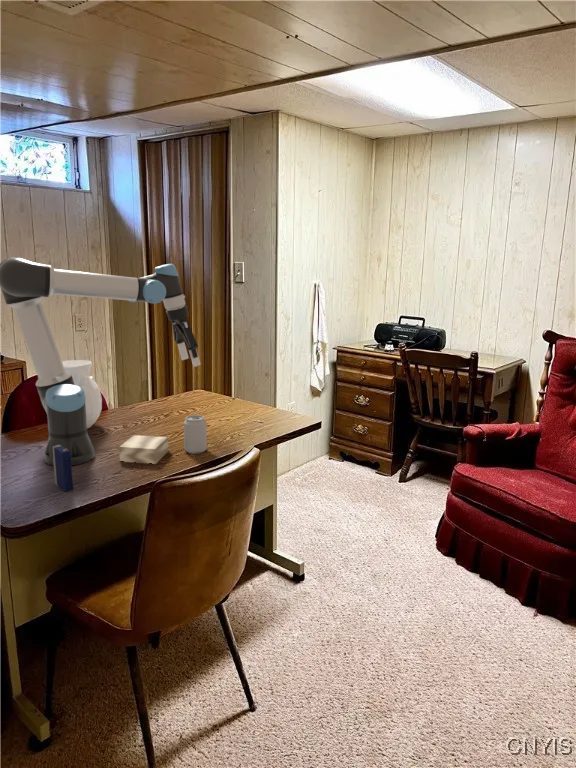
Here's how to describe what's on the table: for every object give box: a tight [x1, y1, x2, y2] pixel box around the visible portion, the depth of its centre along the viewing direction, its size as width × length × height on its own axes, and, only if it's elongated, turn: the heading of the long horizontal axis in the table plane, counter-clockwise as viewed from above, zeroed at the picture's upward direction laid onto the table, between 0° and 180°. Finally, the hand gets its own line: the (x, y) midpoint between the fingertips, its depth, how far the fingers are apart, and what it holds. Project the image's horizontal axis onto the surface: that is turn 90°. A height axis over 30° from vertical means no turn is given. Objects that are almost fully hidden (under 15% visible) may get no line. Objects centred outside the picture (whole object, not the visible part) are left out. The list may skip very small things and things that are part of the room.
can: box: [183, 414, 208, 455], centre depth 192 cm, size 8×8×12 cm
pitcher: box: [61, 359, 103, 429], centre depth 215 cm, size 19×18×25 cm
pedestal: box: [118, 434, 169, 465], centre depth 187 cm, size 12×12×5 cm
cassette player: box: [53, 445, 74, 492], centre depth 161 cm, size 7×2×12 cm, turn 43°
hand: (191, 362), depth 212 cm, fingers open, 13 cm apart
